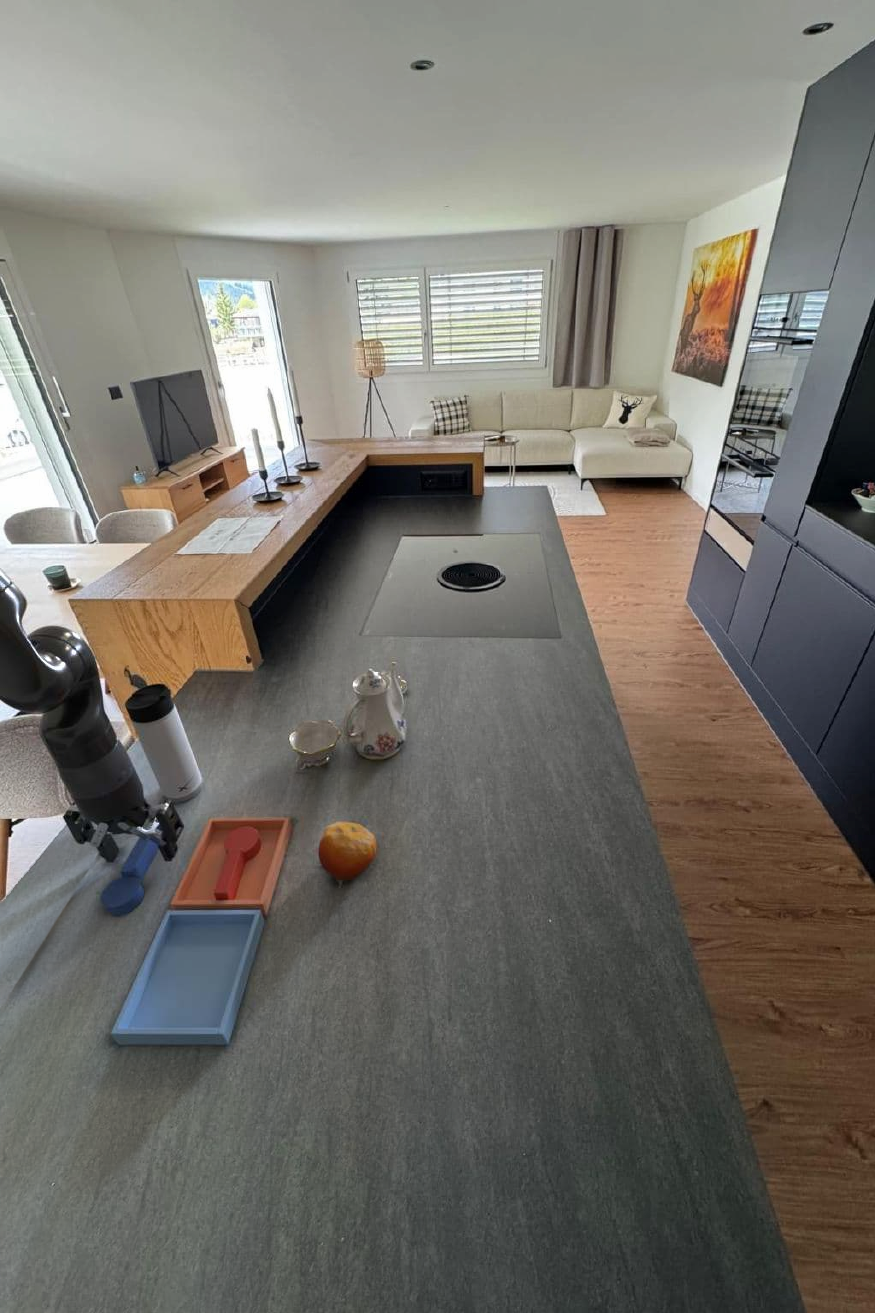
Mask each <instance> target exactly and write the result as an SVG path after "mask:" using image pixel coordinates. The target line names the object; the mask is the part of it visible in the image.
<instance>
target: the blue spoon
mask: <svg viewBox="0 0 875 1313" xmlns="http://www.w3.org/2000/svg"><path fill="white" fill-rule="evenodd" d="M155 833H157V832H156V831H155ZM158 850H159V848H158V844H156V843H154V842H153V841H151V840H149V839H147V840H143V839H141V838H140V837H138V839H137V841H136V842H135V844H134V846H133V848H132V850H131V851H130V852H129V855H128V856H127V858H126V860H125V862H124V863H123V865H122V867H121V869H120V870H119V874H120V877H118V878H115V879H113V880H112V881H111V882H110V883H108V884H107V885H106V886H105V887H104V889H103V890H102V892H101V894H100V903H101V904H102V906H103V908H104V909H105V911H106V912H107V914H108V915H110V916H113V917H120V916H121V917H122V916H125V915H127V914H130V913H131V912H132V911H134V910H135V909H137V907H139V906H140V905H141V903H142V902H143V900H144V897H145V888H144V886H143V884H142V881H143V879H144V878H145V875H146V873H147V872H148V869H149V868H150V866H151V864H152V862H153V860H154V858H155V856H156V855H157V853H158Z"/></svg>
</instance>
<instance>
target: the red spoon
mask: <svg viewBox="0 0 875 1313" xmlns="http://www.w3.org/2000/svg"><path fill="white" fill-rule="evenodd" d="M224 848H225V850H226V853H227V856H226V859H225V862H224V864H223V867H222V870H221V873H220V876H219V879H218V882H217V885H216V887H215V890H214V893H213V894H214V896H215V898H216V900H235V897H236V893H237V890H238V887H239V884H240V880H241V877H242V874H243V871H244V868H245V864H246V861H249V860H251V859H252V858H254V857H255V856H256V855H257V854H258V853H259V851H260V849H261V841H260V838H259V835H258V832H257V831H256V830H255V829H254V828H252V827H241V828H238V829H236V830H234V831H232V832H231V833H230V834H229V835H228V836H227V837H226V839H225V842H224Z"/></svg>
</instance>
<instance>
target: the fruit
mask: <svg viewBox="0 0 875 1313" xmlns="http://www.w3.org/2000/svg"><path fill="white" fill-rule="evenodd" d="M317 851H318V860H319V863H320V865H321V867H322V869H323V870H324V871H325V872H327V873H328V874H330V875H331V876H332V877H333V879H335V880H336V882H338V889H339V890H341V887H342V884H343V882H344V881H345V882H346V881H348V882H349V881H351V880H353V879H355V878H357V877H359V876H360V875H362V874H363V873H364V872H365V871H366V869H367V868H368V867H369V866H370V865H371V863H372V862H373V861H374V859H375V857H376V855H377V840H376V836H375V834H374V833H373V832H371V831H370V830H368V829H367V828H366V827H364V826H363V825H362V824H360V823H355V822H352V821H351V822H350V821H336V822H334V823H333V824H329V825H327V826H326V827H325V830H324V831H323V833H322V836H321V838H320V840H319V844H318V850H317Z"/></svg>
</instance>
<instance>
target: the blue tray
mask: <svg viewBox="0 0 875 1313" xmlns="http://www.w3.org/2000/svg"><path fill="white" fill-rule="evenodd" d="M265 922H266V920H265V917H264V915H262V912H261V910H182V911H173V910H166V911H165V914H164V916H163V918H162V920H161V923H160V925H159V927H158V929H157V931H156V934H155V936H154V938H153V941H151V942H152V943H151V944H150V947H149V949H148V950H147V953H146V956H145V958H144V960H143V962H142V964H141V967H140V969H139V971H138V973H137V975H136V977H135V980H134V982H133V983H132V985H131V988H130V990H129V993H128V995H127V997H126V999H125V1001H124V1004H123V1005H122V1007H121V1010H120V1012H119V1014H118V1017H117V1018H116V1021H115V1023H114V1024H113V1027H112V1030H111V1032H110V1035H111V1037H112V1038H113V1040H114V1041H115V1042H116V1044H117V1045H121V1046H122V1045H128V1046H129V1045H131V1046H132V1045H134V1046H135V1045H138V1046H141V1045H142V1046H143V1045H145V1046H147V1045H148V1046H149V1045H151V1046H152V1045H155V1046H156V1045H159V1046H160V1045H163V1046H164V1045H165V1046H166V1045H167V1046H169V1045H170V1046H174V1045H176V1046H177V1045H178V1046H179V1045H180V1046H181V1045H182V1046H183V1045H184V1046H185V1045H186V1046H191V1045H193V1046H197V1045H198V1046H208V1045H209V1046H229V1044H230V1041H231V1038H232V1033H233V1030H234V1027H235V1024H236V1020H237V1017H238V1013H239V1010H240V1006H241V1003H242V1001H243V996H244V993H245V990H246V986H247V983H248V981H249V977H250V973H251V969H252V967H253V963H254V960H255V956H256V953H257V951H258V950H257V949H258V946H259V942H260V939H261V935H262V933H263V928H264V927H265V926H264V925H265Z"/></svg>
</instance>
